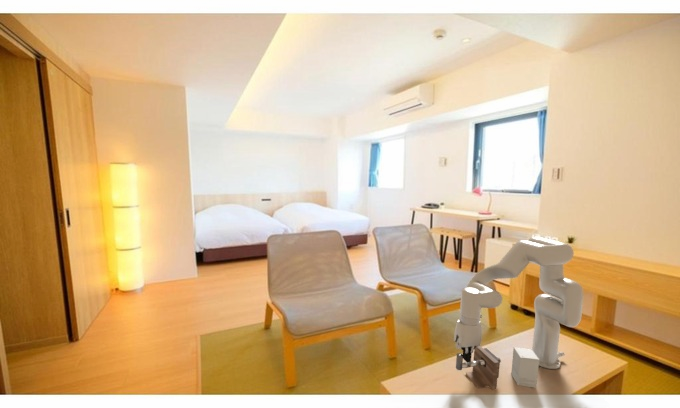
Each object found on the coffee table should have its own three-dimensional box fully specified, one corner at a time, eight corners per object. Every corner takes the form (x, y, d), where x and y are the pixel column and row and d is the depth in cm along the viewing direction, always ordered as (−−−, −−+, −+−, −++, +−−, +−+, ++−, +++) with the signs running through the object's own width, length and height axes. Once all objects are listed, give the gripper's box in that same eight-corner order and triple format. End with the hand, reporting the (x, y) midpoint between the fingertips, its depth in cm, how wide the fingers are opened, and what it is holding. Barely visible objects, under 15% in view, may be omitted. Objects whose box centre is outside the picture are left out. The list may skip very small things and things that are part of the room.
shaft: (496, 360, 126) (497, 347, 125) (500, 363, 124) (502, 350, 123) (454, 366, 122) (455, 353, 121) (458, 370, 119) (459, 357, 118)
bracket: (476, 369, 130) (478, 344, 129) (496, 389, 119) (498, 362, 117) (462, 371, 129) (464, 346, 127) (481, 392, 117) (483, 364, 116)
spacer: (484, 364, 128) (486, 348, 127) (498, 377, 121) (500, 360, 120) (482, 365, 128) (483, 348, 127) (495, 378, 120) (496, 360, 119)
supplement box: (537, 388, 120) (540, 359, 118) (517, 385, 121) (519, 357, 119) (529, 375, 127) (532, 348, 125) (510, 373, 128) (513, 346, 126)
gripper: (479, 312, 124) (476, 352, 126) (447, 315, 121) (445, 356, 123) (492, 321, 117) (488, 363, 119) (459, 325, 113) (456, 368, 116)
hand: (466, 360), depth 121 cm, fingers closed
